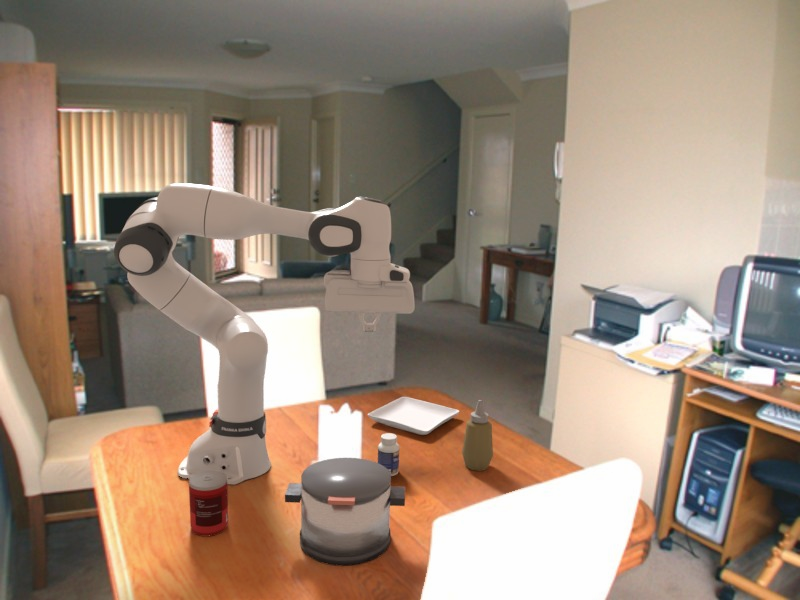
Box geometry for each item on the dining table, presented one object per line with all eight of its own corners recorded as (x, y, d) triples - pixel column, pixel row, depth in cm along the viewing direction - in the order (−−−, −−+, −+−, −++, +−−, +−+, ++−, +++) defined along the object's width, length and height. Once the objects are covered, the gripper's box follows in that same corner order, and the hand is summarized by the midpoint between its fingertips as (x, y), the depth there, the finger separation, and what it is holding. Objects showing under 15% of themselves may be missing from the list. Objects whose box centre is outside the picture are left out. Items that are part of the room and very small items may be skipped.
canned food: (213, 513, 143) (212, 466, 141) (236, 526, 138) (235, 478, 136) (182, 527, 137) (180, 478, 135) (204, 541, 132) (203, 491, 130)
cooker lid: (293, 505, 122) (293, 497, 122) (308, 463, 141) (308, 456, 141) (389, 508, 122) (389, 500, 122) (391, 465, 141) (391, 459, 141)
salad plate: (460, 419, 203) (461, 409, 202) (426, 442, 185) (427, 430, 184) (402, 405, 214) (403, 395, 213) (365, 425, 196) (365, 414, 195)
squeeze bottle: (489, 459, 174) (493, 395, 171) (494, 473, 166) (499, 406, 163) (459, 459, 174) (462, 395, 170) (463, 473, 166) (466, 406, 162)
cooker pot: (278, 563, 126) (278, 506, 123) (295, 511, 145) (295, 460, 143) (403, 567, 126) (405, 510, 123) (403, 515, 145) (405, 464, 142)
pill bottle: (396, 478, 162) (397, 441, 160) (375, 475, 163) (376, 439, 161) (400, 468, 167) (401, 433, 165) (380, 466, 168) (381, 430, 166)
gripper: (321, 271, 142) (321, 333, 145) (415, 274, 142) (413, 336, 144) (325, 267, 148) (325, 326, 151) (415, 270, 148) (413, 329, 151)
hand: (369, 331), depth 148 cm, fingers closed
